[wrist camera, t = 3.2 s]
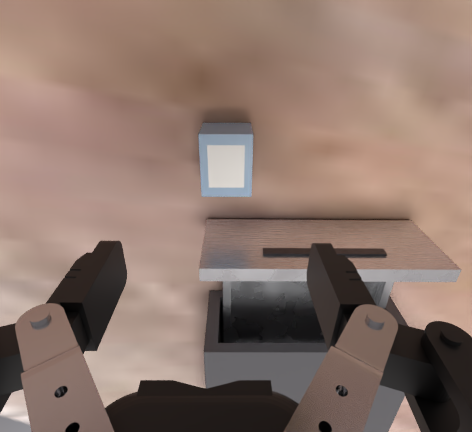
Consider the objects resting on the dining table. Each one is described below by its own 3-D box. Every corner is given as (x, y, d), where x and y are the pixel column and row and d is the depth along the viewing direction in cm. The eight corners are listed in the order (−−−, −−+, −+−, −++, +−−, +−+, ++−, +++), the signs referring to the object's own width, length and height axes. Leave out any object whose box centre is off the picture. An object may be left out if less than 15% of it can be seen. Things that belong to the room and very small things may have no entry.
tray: (206, 217, 30) (199, 266, 23) (412, 218, 30) (462, 267, 24) (211, 343, 39) (207, 405, 32) (371, 343, 39) (399, 405, 32)
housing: (209, 290, 35) (203, 352, 28) (386, 291, 35) (424, 352, 28) (213, 387, 44) (209, 453, 37) (355, 387, 44) (378, 453, 37)
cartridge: (250, 122, 26) (253, 134, 23) (249, 178, 29) (251, 196, 25) (203, 122, 26) (198, 134, 23) (205, 178, 29) (201, 196, 25)
